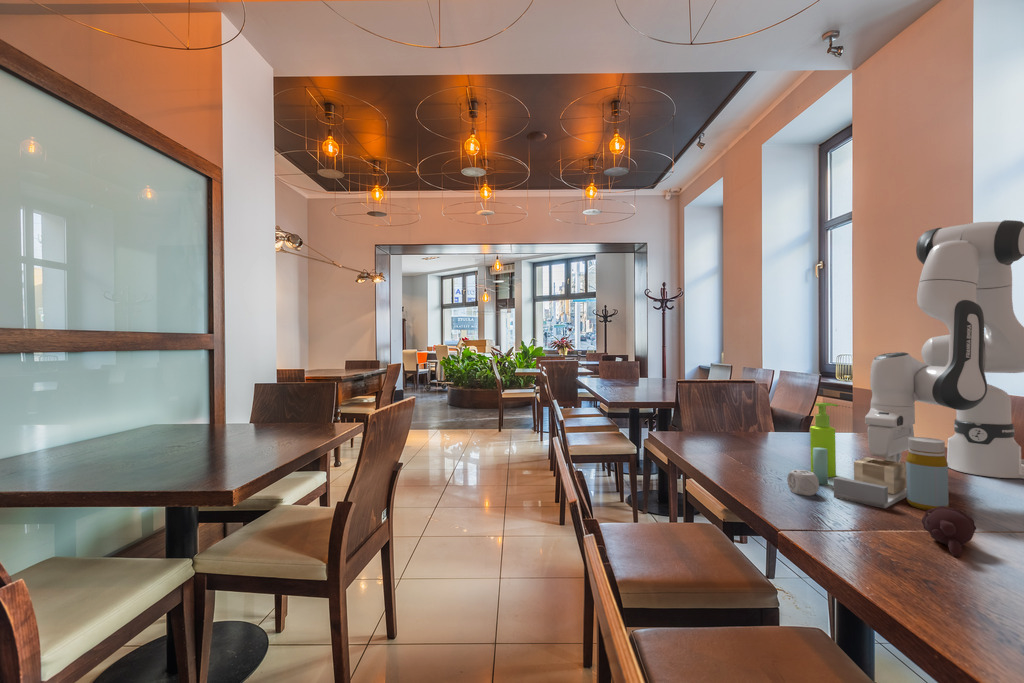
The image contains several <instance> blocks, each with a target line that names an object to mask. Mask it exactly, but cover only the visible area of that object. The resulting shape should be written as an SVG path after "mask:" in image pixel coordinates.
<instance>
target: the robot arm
mask: <svg viewBox="0 0 1024 683" xmlns="http://www.w3.org/2000/svg"><path fill="white" fill-rule="evenodd" d="M915 252H916V258H917V260H918V261H919V262H920V263H921V264H923V266H922V270H921V273H920V276H919V281H918V282H919V283H918V286H917V290H916V291H917V292H916V302H917V306H918V308H919V309H920V310H921V311H922V312H923V313H924V314H925V315H927V316H929V317H931V318H933V319H935V320H937V321H940V322H942V323H943V324H944V325H946V327H947V329H948V332H949V334H945V335H939V336H933V337H930V338H929V339H927V340H926V341H925V343H924V344H923V345H922V348H921V353H920V354H921V358H922V361H923V362H922V361H921V360H918V359H916V358H915V357H913V356H912V355H911V354H910V353H908V352H902V351H901V352H900V351H899V352H887V353H883V354H879V355H877V356H875V357H874V358H873V359H872V362H871V365H870V376H869V379H870V381H869V382H870V383H869V384H870V389H871V394H872V395H871V396H872V397H871V400H870V408H869V411H868V413H867V414H866V415H865V418H864V423H865V424H866V425H868V427H867V444H868V450H869V454H870V455H871V456H873V457H879V458H884V460H887V461H894V462H900V463H901V459H902V453H903V452H905V451H909V447H908V439H909V438H910V437H915V432H914V431H915V429H914V425H915V424H916V418H915V417H916V413H915V412H916V408H915V406H916V405H915V402H919V403H925V404H928V405H935V406H943V407H945V408H948V409H953V410H955V412H956V414H955V416H956V419H954V423H953V427H954V432H955V433H954V435H951V436H950V437H948V438H947V450H946V451H947V454H946V455H947V456H946V460H947V463H948V469H951V470H953V471H957V472H961V473H965V474H970V475H977V476H983V477H989V478H990V477H991V478H999V479H1001V478H1003V479H1023V480H1024V458H1022V446H1020V444H1018V443H1017V441H1016V440H1015V439H1014V438H1015V436H1016V435H1015V433H1016V431H1015V426H1014V424H1013V423H1012V398H1011V396H1010V395H1009V394H1008V392H1006V391H1005V390H1004V389H1002V388H1000V387H997V386H994V385H992V384H989V383H987V378H986V374H987V373H991V374H993V373H995V374H996V373H997V374H1020V373H1024V325H1022V323H1020V322H1019V319H1018V318H1017V316H1016V314H1015V310H1014V304H1013V270H1012V264H1013V263H1014V262H1016V261H1019V260H1021V259H1022V258H1024V222H1023V221H1021V220H1007V219H1005V220H1002V221H980V222H979V221H978V222H969V223H965V224H960V225H959V224H958V225H951V226H947V227H937V228H932V229H928V230H926V231H925V232H924V233H922V234H921V235H920V236H919V237H918V239H917V243H916V247H915Z"/></svg>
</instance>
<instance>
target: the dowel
mask: <svg viewBox="0 0 1024 683" xmlns="http://www.w3.org/2000/svg"><path fill="white" fill-rule="evenodd" d="M813 473H814V474H815V475H816V476H817V478H818V481H819V486H820V485H823V486H826V485H829V477H828V456H827V449H825V448H813Z"/></svg>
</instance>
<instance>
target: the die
mask: <svg viewBox="0 0 1024 683" xmlns="http://www.w3.org/2000/svg"><path fill="white" fill-rule="evenodd" d="M786 479H787V485H788V488H789V490H790V491H791V492H792V493H794V494H797V495H801V496H815V495H816V494H817V493H818V491H819V487H820V484H819V481H818V478H817V476H816V475H815V474H814V473H813V472H811V470H810V471H809V470H804V469H793V470H791V471H790V472H789V473H788V474H787V478H786Z"/></svg>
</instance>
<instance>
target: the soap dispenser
mask: <svg viewBox="0 0 1024 683" xmlns="http://www.w3.org/2000/svg"><path fill="white" fill-rule="evenodd" d="M814 405H815V406H816V407H818V413H817V414H815V416H814V422H815V424H814V425H812V426H810V427H809V435H810V438H809V442H810V444H809V445H810V472H813V448H825V449H827V456H828V478H835V477H837V466H836V465H837V462H836V460H837V458H836V455H837V454H836V453H837V452H836V428H835V427H832V426H830V425H831V423H830V422H831V421H830V420H831V419H830V415H829V414H827V410H826V409H827V406H828V407H832V406H833V407H838V406H839V405H838V404H836V403H831V402H816V403H814Z"/></svg>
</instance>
